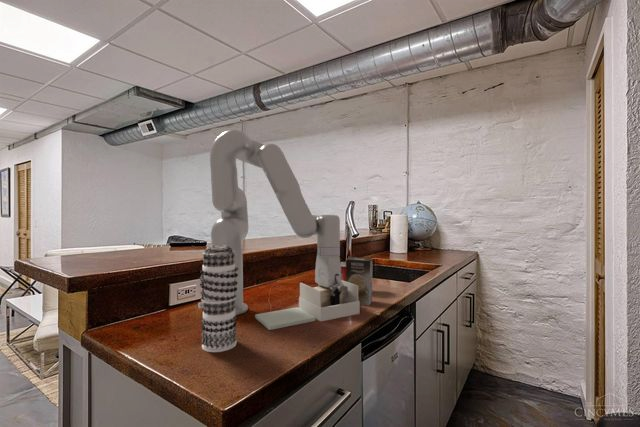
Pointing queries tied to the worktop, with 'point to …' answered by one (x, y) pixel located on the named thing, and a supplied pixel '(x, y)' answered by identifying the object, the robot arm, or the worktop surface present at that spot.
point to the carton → (312, 305)
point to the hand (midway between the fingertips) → (328, 303)
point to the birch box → (327, 295)
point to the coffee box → (360, 277)
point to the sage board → (284, 318)
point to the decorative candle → (218, 299)
